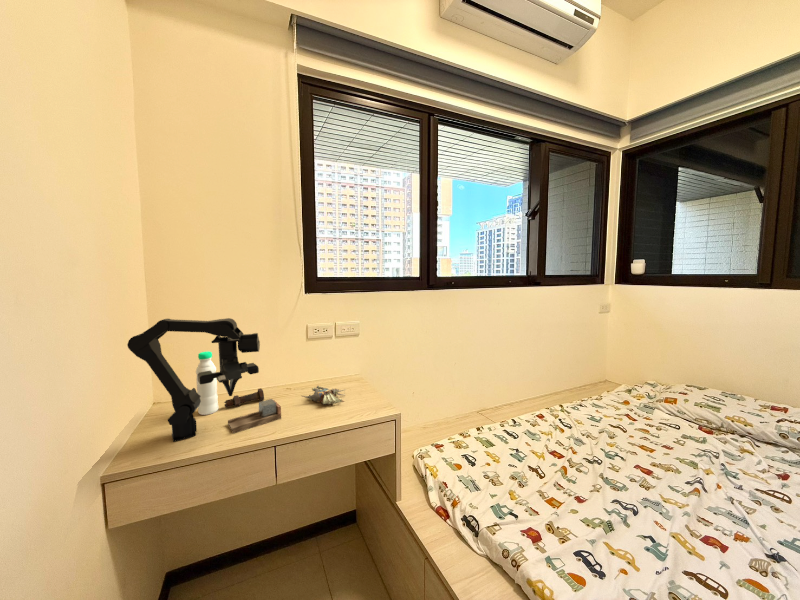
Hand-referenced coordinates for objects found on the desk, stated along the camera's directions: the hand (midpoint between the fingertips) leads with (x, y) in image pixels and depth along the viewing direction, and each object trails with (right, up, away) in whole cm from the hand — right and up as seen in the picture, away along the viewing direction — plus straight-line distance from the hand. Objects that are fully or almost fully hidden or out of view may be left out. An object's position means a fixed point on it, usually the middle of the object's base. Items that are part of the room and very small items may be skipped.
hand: (230, 395), depth 111 cm
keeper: (+10, -10, +9) cm, 17 cm away
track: (+6, -12, +6) cm, 15 cm away
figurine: (+29, -11, +25) cm, 40 cm away
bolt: (-6, -11, +23) cm, 26 cm away
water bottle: (-17, -12, +15) cm, 26 cm away
